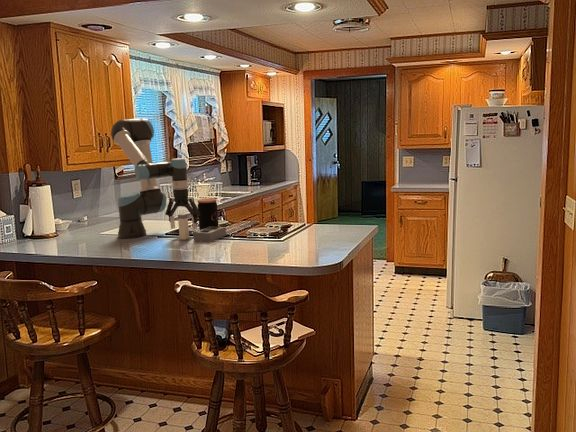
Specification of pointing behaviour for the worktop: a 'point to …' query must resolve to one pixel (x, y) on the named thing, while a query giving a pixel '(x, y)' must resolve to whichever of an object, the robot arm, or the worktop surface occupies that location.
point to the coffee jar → (208, 213)
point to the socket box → (209, 234)
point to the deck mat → (183, 240)
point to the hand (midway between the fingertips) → (183, 228)
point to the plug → (183, 226)
